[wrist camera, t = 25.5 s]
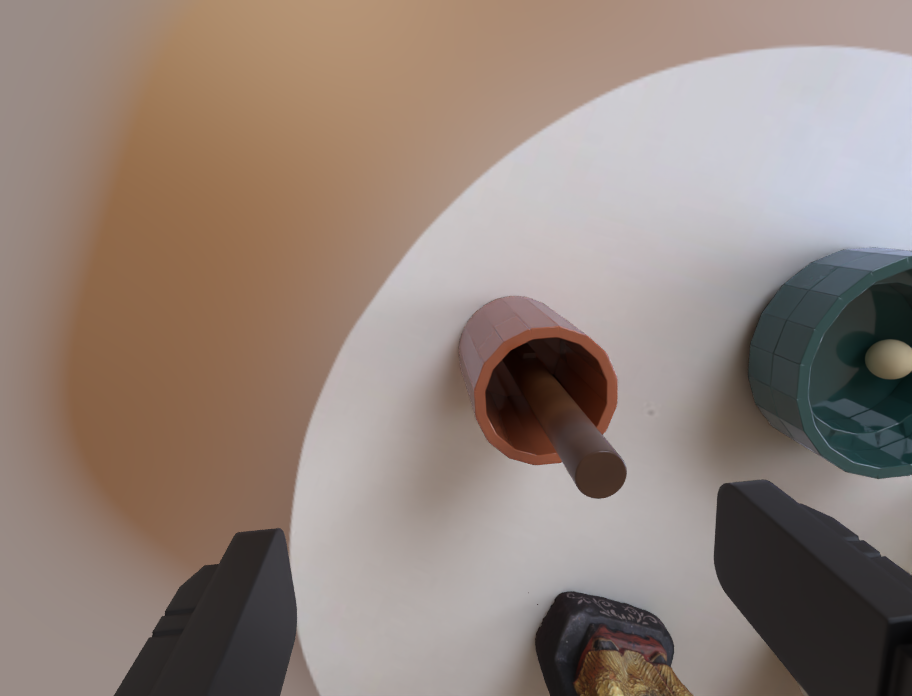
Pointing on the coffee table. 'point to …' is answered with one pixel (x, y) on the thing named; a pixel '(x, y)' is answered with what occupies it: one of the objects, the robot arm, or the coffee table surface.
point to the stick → (567, 426)
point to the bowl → (839, 360)
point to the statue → (605, 650)
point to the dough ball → (889, 359)
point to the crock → (561, 353)
